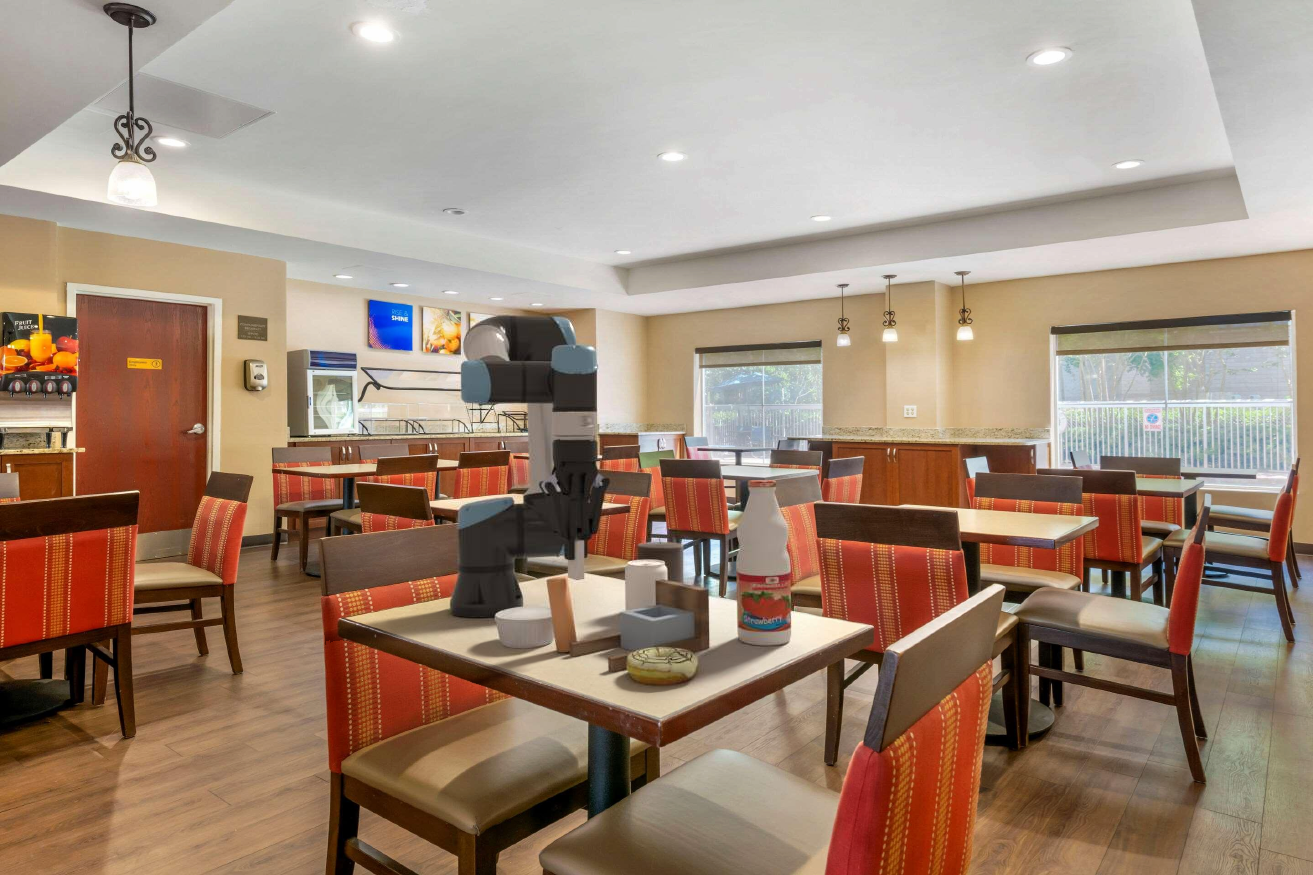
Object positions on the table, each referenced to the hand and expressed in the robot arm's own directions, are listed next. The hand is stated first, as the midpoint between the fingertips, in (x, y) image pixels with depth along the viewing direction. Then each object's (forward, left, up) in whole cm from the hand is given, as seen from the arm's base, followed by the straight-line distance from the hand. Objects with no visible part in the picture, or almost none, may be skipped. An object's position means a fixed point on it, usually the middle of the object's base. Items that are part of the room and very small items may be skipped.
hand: (576, 578), depth 127 cm
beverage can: (-6, +20, -13) cm, 24 cm away
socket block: (+7, +12, -12) cm, 18 cm away
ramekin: (-11, -3, -13) cm, 17 cm away
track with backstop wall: (+7, +8, -12) cm, 16 cm away
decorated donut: (+20, +2, -13) cm, 24 cm away
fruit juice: (+16, +29, -13) cm, 35 cm away
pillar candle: (-14, +30, -13) cm, 35 cm away
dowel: (-1, -1, -12) cm, 12 cm away
